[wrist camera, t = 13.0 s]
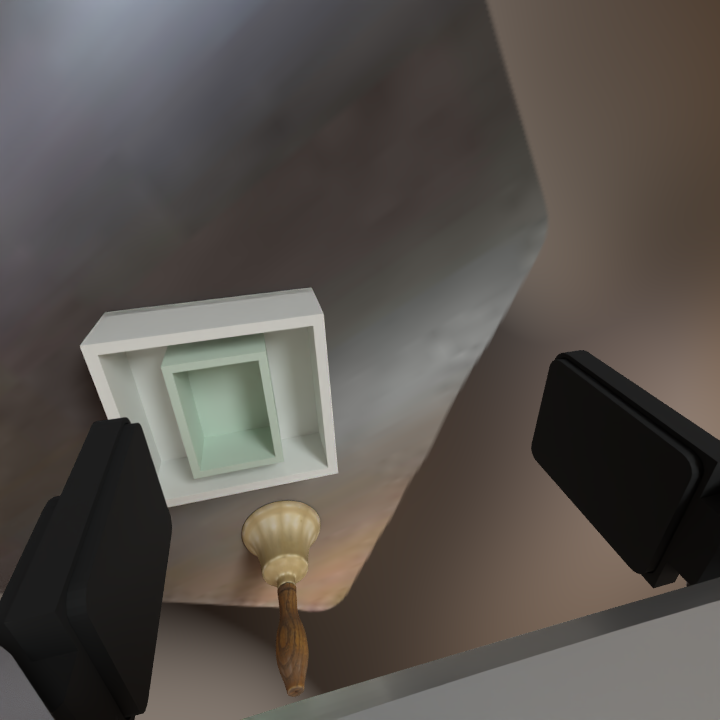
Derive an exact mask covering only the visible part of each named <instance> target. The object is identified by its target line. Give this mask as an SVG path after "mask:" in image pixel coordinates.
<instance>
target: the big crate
mask: <svg viewBox="0 0 720 720" xmlns="http://www.w3.org/2000/svg"><path fill="white" fill-rule="evenodd" d="M256 333H264V336H265V342H266V348H267V354H268V361H269V367H270V373H271V379H272V385H273V391H274V397H275V403H276V409H277V415H278V421H279V427H280V435H281V442H282V450H283V457H284V462H279V463H274V464H268V465H263V466H258V467H253V468H248V469H243V470H237V471H232V472H227V473H222V474H217V475H212V476H207V477H201V478H196V479H194V477H193V474H192V470H191V467H190V464H189V460H188V457H187V454H186V450H185V447H184V444H183V440H182V437H181V433H180V430H179V427H178V423H177V420H176V417H175V413H174V410H173V407H172V403H171V400H170V397H169V393H168V390H167V386H166V383H165V380H164V376H163V373H162V370H161V364H162V361H163V358H164V355H165V352H166V350H167V347H168V346H169V345H176V344H183V343H191V342H198V341H205V340H213V339H220V338H227V337H234V336H242V335H249V334H256ZM80 348H81V350H82V353H83V356H84V358H85V361H86V363H87V366H88V369H89V371H90V374H91V376H92V379H93V382H94V384H95V387H96V389H97V392H98V395H99V397H100V400H101V402H102V405H103V408H104V410H105V413H106V415H107V418H108V420H109V419H116V418H123V417H127V418H128V419H129V420H130V422H131V424H132V423H140V425H141V426H142V429H143V432H144V435H145V438H146V441H147V445H148V448H149V451H150V454H151V457H152V460H153V463H154V466H155V469H156V473H157V476H158V479H159V482H160V485H161V488H162V491H163V494H164V497H165V501H166V504H167V507H173V506H178V505H183V504H187V503H192V502H197V501H202V500H207V499H212V498H217V497H222V496H227V495H232V494H237V493H242V492H247V491H252V490H257V489H262V488H267V487H272V486H277V485H282V484H286V483H291V482H296V481H301V480H306V479H311V478H316V477H321V476H326V475H331V474H336V473H338V466H337V456H336V445H335V434H334V423H333V412H332V401H331V390H330V379H329V368H328V357H327V346H326V335H325V324H324V314H323V311H322V309H321V307H320V305H319V303H318V301H317V298H316V296H315V294H314V292H313V290H312V287H311V288H302V289H294V290H286V291H277V292H269V293H261V294H253V295H244V296H236V297H228V298H219V299H211V300H203V301H195V302H186V303H178V304H170V305H161V306H153V307H145V308H136V309H128V310H120V311H112V312H105V313H104V314H103V316H102V317H101V318H100V320H99V321H98V322H97V324H96V325H95V326H94V328H93V329H92V330H91V332H90V333H89V334H88V336H87V337H86V338H85V340H84V341H83V342H82V344H81V345H80Z"/></svg>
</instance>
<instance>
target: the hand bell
mask: <svg viewBox="0 0 720 720" xmlns="http://www.w3.org/2000/svg"><path fill="white" fill-rule="evenodd" d="M320 526H321V525H320V518H319V516H318V514H317V513H316V511H315V510H314V509H312V508H311V507H310V506H308V505H306V504H304V503H301V502H297V501H278V502H273V503H270V504H267V505H265V506H263V507H261V508H259V509H257V510H256V511H255V512H253V513H252V514H251V515H250V516H249V518H248V519H247V520H246V522H245V523H244V525H243V529H242V540H243V542H244V544H245V546H246V547H247V549H248V550H249V551H250V552H251V553H252V554H254V555H256V556H258V559H259V562H260V565H261V571H262V576H263V578H264V580H265V581H266V582H267V583H268V584H270V585H272V586H275V587H278V599H279V607H280V622H279V626H278V630H277V637H276V658H277V664H278V668H279V670H280V674H281V676H282V678H283V681H284V683H285V687H286V690H287V694H288V695H289V696H292V697H295V696H298V695H300V694H301V693H303V692H304V682H305V677H306V671H307V666H308V645H307V638H306V634H305V630H304V627H303V624H302V622H301V620H300V618H299V615H298V611H297V597H296V583H298V582H299V581H301V580H302V579H303V578H304V576H305V575H306V573H307V571H308V553H309V548H310V547H311V546H312V544H313V543H314V542H315V540H316V539H317V537H318V534H319V531H320Z"/></svg>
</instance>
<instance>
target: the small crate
mask: <svg viewBox="0 0 720 720" xmlns="http://www.w3.org/2000/svg"><path fill="white" fill-rule="evenodd" d="M161 370H162V373H163V376H164V380H165V383H166V386H167V390H168V393H169V397H170V400H171V403H172V407H173V410H174V413H175V417H176V420H177V423H178V427H179V430H180V433H181V437H182V440H183V444H184V447H185V450H186V454H187V457H188V460H189V464H190V467H191V470H192V474H193V477H194V479H196V478H201V477H207V476H212V475H217V474H222V473H227V472H232V471H237V470H243V469H248V468H253V467H258V466H263V465H268V464H274V463H279V462H284V457H283V450H282V442H281V435H280V427H279V421H278V415H277V409H276V403H275V397H274V391H273V385H272V379H271V373H270V367H269V361H268V354H267V348H266V342H265V336H264V333H256V334H249V335H242V336H234V337H227V338H220V339H213V340H205V341H198V342H191V343H183V344H176V345H169V346H168V347H167V350H166V352H165V355H164V358H163V361H162V364H161Z"/></svg>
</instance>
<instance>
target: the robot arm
mask: <svg viewBox="0 0 720 720" xmlns="http://www.w3.org/2000/svg"><path fill="white" fill-rule="evenodd" d="M531 449H532V454H533V456H534V458H535V460H536V461H537V462H538V463H539V464H540V466H541V467H542V468H543V469H544V470H545V471H546V472H547V473H548V475H549V476H550V477H551V478H552V479H553V480H554V481H555V482H556V484H557V485H558V486H559V487H560V488H561V490H562V491H563V492H564V493H565V494H566V495H567V496H568V498H569V499H570V500H571V501H572V502H573V503H574V504H575V505H576V507H577V508H578V509H579V510H580V511H581V512H582V514H583V515H584V516H585V517H586V518H587V519H588V520H589V522H590V523H591V524H592V525H593V526H594V527H595V528H596V529H597V531H598V532H599V533H600V534H601V535H602V536H603V538H604V539H605V540H606V541H607V542H608V543H609V544H610V546H611V547H612V548H613V549H614V550H615V551H616V552H617V554H618V555H619V556H620V557H621V558H622V559H623V560H624V562H626V564H627V565H628V566H629V567H630V568H631V569H632V570H633V571H634V572H636V573H638V574H641V575H642V576H643V577H644V578H645V580H646V581H647V582H648V583H649V584H650V585H651V586H652V587H653V588H656V587H660V586H663V585H666V584H670V583H673V582H675V581H676V579H677V577H678V575H679V574H680V575H681V576H682V577H683V578H684V579H685V580H686V581H687V584H686V585H687V587H684V588H681V589H678V590H674V591H671V592H667V593H664V594H660V595H657V596H654V597H650V598H647V599H643V600H639V601H636V602H632V603H629V604H625V605H622V606H618V607H615V608H612V609H608V610H605V611H601V612H598V613H594V614H591V615H587V616H584V617H581V618H577V619H574V620H570V621H567V622H564V623H560V624H557V625H553V626H550V627H547V628H543V629H540V630H537V631H533V632H529V633H526V634H523V635H519V636H516V637H513V638H509V639H506V640H502V641H499V642H496V643H492V644H489V645H486V646H482V647H479V648H475V649H472V650H469V651H465V652H462V653H458V654H455V655H451V656H448V657H445V658H441V659H438V660H435V661H432V662H428V663H425V664H422V665H418V666H415V667H411V668H408V669H405V670H401V671H398V672H395V673H392V674H388V675H385V676H382V677H378V678H375V679H372V680H368V681H365V682H362V683H358V684H355V685H352V686H348V687H345V688H341V689H338V690H335V691H331V692H328V693H325V694H322V695H318V696H315V697H311V698H308V699H305V700H302V701H298V702H295V703H292V704H289V705H285V706H283V707H279V708H276V709H273V710H270V711H267V712H264V713H260V714H257V715H254V716H251V717H248V718H245V719H242V720H720V440H718V439H716V438H715V437H713V436H712V435H711V434H709V433H707V432H706V431H705V430H703V429H702V428H700V427H699V426H697V425H696V424H694V423H693V422H691V421H690V420H688V419H687V418H685V417H684V416H682V415H681V414H679V413H678V412H676V411H675V410H673V409H672V408H670V407H669V406H667V405H666V404H664V403H663V402H661V401H660V400H658V399H657V398H655V397H654V396H652V395H651V394H650V393H648V392H647V391H645V390H643V389H642V388H641V387H639V386H638V385H636V384H635V383H633V382H632V381H630V380H629V379H627V378H626V377H624V376H623V375H621V374H620V373H618V372H617V371H615V370H614V369H612V368H611V367H609V366H608V365H606V364H605V363H603V362H602V361H600V360H599V359H597V358H596V357H594V356H593V355H591V354H590V353H589V352H587V351H584V350H579V351H572V352H566V353H561V354H559V355H558V356H557V357H556V358H555V360H554V361H552V363H551V364H550V367H549V372H548V376H547V381H546V385H545V389H544V393H543V398H542V402H541V406H540V411H539V415H538V419H537V424H536V428H535V432H534V437H533V441H532V447H531ZM171 534H172V523H171V517H170V513H169V510H168V507H167V504H166V501H165V497H164V494H163V491H162V488H161V485H160V482H159V479H158V476H157V473H156V469H155V466H154V463H153V460H152V457H151V454H150V451H149V448H148V445H147V441H146V438H145V435H144V432H143V429H142V426H141V425H140V423H132V424H131V422H130V420H129V419H128V418H127V417H123V418H116V419H109V420H102V421H96V422H94V423H93V425H92V426H91V429H90V431H89V433H88V435H87V438H86V440H85V442H84V444H83V447H82V449H81V451H80V453H79V456H78V458H77V460H76V462H75V465H74V467H73V469H72V471H71V474H70V476H69V478H68V480H67V483H66V485H65V487H64V489H63V492H62V494H61V496H56V497H53V498H52V499H50V500H49V501H48V502H47V504H46V506H45V507H44V509H43V511H42V513H41V515H40V518H39V520H38V522H37V524H36V526H35V528H34V530H33V532H32V534H31V537H30V539H29V541H28V543H27V545H26V547H25V549H24V551H23V553H22V556H21V558H20V560H19V562H18V564H17V566H16V568H15V570H14V572H13V575H12V577H11V579H10V581H9V583H8V585H7V587H6V589H5V592H4V594H3V596H2V598H1V600H0V720H134V719H135V715H139V714H142V713H144V712H145V710H146V707H147V703H148V697H149V689H150V683H151V676H152V668H153V661H154V654H155V647H156V640H157V633H158V626H159V619H160V611H161V604H162V598H163V591H164V584H165V576H166V569H167V562H168V555H169V548H170V541H171Z"/></svg>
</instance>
